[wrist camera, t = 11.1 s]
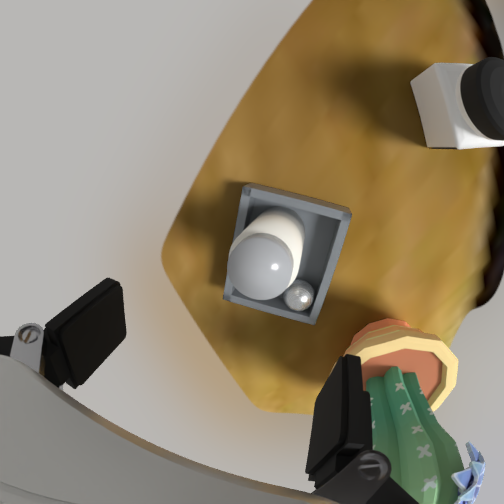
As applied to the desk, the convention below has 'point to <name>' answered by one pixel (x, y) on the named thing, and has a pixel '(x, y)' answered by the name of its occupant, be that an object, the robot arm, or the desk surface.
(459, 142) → the medicine bottle
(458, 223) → the desk surface
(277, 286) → the shaker
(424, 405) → the potted cactus
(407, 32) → the desk surface
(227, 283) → the tray
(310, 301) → the steel ball
